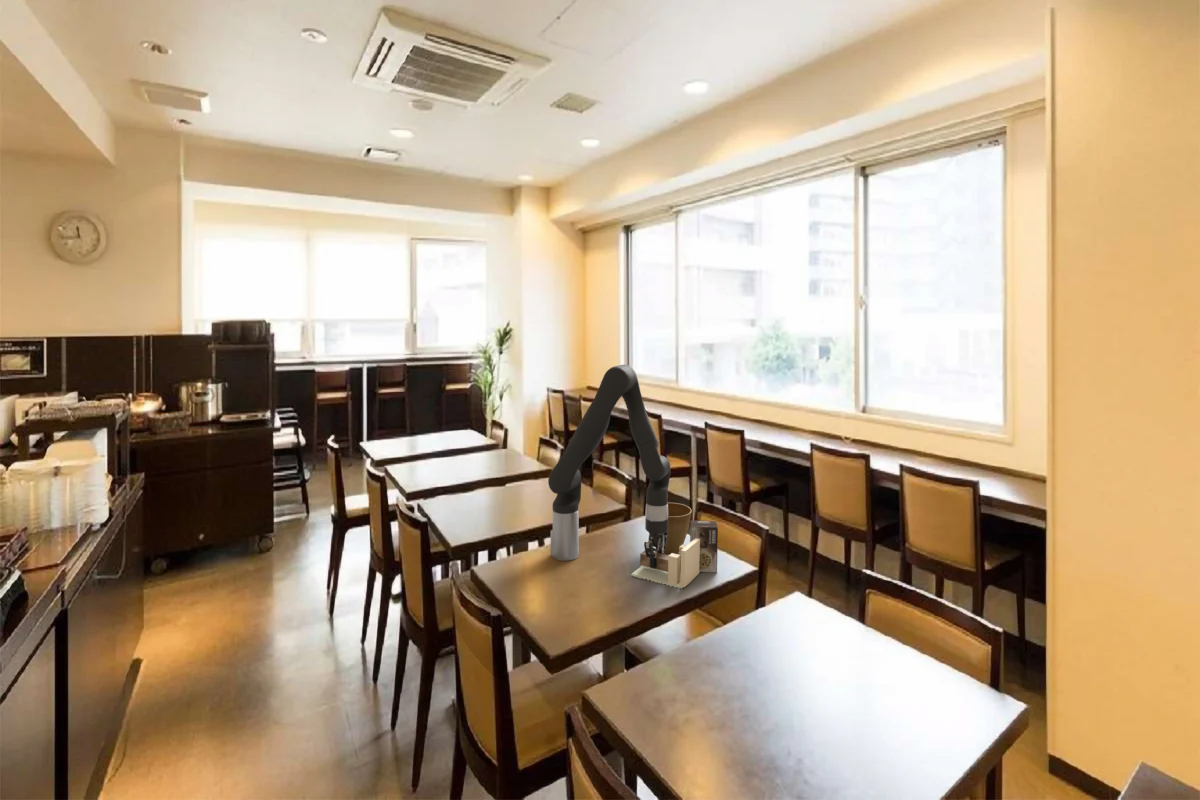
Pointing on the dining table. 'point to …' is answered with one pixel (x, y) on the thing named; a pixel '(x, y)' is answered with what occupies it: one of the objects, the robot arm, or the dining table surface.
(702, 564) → the coffee box
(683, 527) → the plant pot
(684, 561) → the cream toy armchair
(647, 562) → the rail
